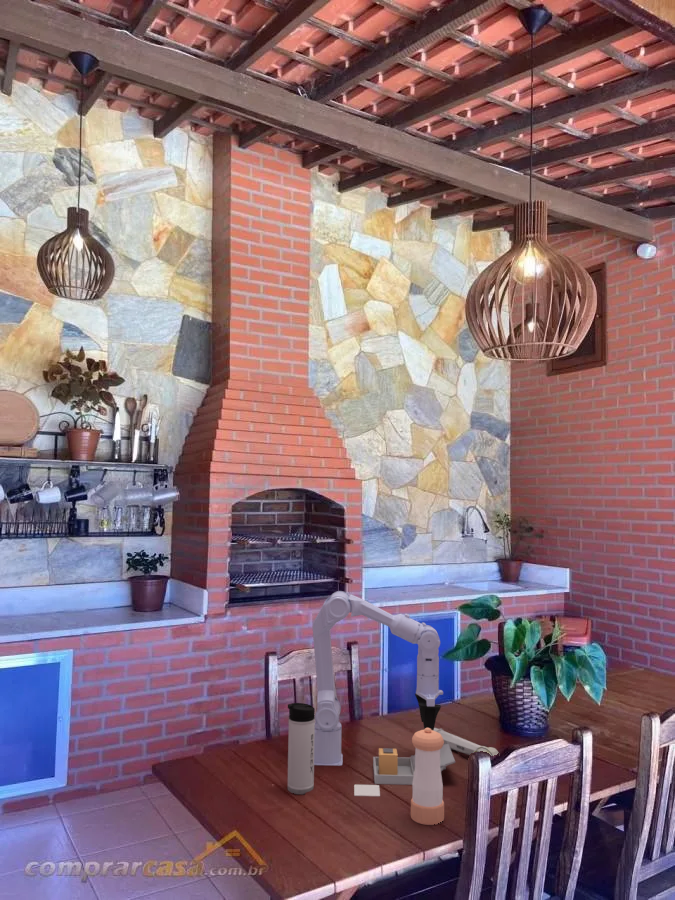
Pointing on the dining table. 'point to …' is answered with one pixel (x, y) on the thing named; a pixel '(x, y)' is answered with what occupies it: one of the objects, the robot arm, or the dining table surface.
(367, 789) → the mat
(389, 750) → the block
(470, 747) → the white elongated piece
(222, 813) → the dining table surface
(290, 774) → the travel mug
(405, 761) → the case
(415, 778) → the pepper shaker
